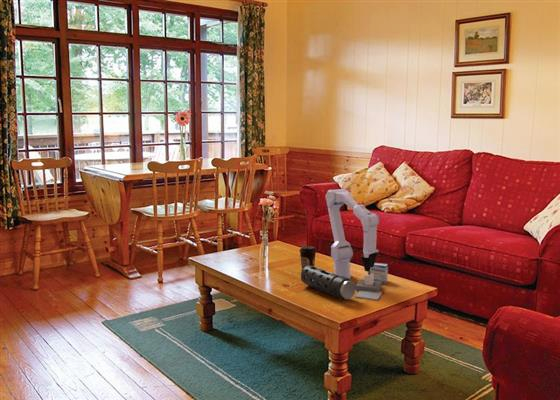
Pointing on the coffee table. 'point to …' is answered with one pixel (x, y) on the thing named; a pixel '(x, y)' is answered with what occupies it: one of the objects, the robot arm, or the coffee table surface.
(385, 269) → the medicine box
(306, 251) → the coffee cup
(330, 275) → the muzzle brake
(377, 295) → the rubber pad
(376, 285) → the socket block
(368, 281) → the plug
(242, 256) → the coffee table surface
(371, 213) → the robot arm
